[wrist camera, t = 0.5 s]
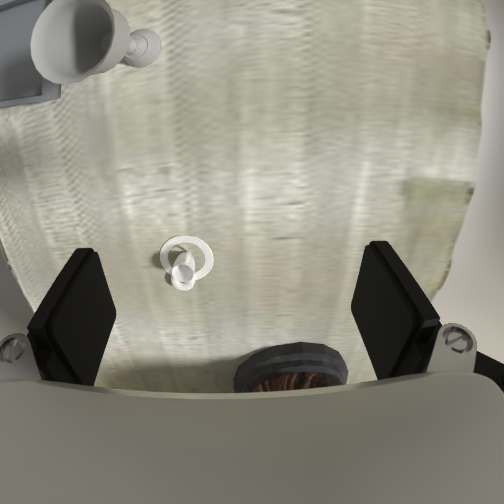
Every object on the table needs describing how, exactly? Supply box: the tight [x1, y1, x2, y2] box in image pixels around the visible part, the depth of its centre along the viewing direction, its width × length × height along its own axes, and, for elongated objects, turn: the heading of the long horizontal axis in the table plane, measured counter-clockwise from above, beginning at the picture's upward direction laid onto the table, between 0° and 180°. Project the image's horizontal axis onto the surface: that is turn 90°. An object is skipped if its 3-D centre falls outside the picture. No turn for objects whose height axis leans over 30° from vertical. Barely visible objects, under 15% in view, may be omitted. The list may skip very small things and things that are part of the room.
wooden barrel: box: [234, 342, 348, 393], centre depth 51 cm, size 24×30×30 cm
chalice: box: [31, 0, 161, 85], centre depth 22 cm, size 7×7×18 cm
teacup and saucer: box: [160, 235, 214, 291], centre depth 44 cm, size 9×8×4 cm
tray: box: [0, 0, 61, 108], centre depth 24 cm, size 16×16×4 cm
